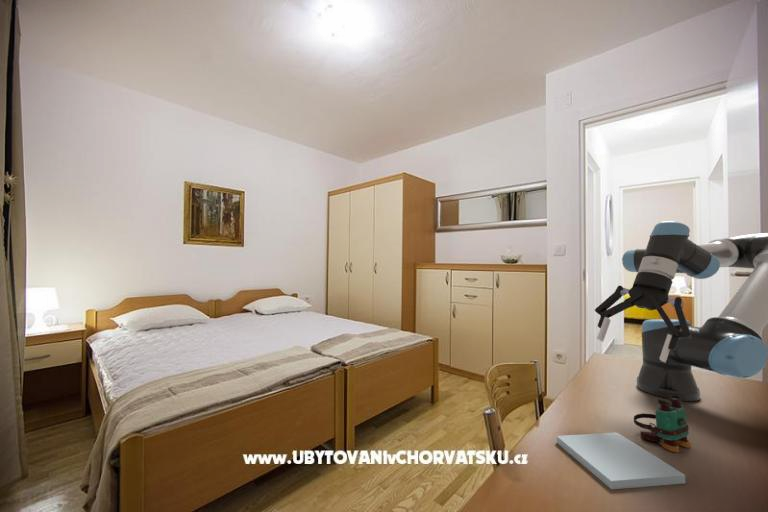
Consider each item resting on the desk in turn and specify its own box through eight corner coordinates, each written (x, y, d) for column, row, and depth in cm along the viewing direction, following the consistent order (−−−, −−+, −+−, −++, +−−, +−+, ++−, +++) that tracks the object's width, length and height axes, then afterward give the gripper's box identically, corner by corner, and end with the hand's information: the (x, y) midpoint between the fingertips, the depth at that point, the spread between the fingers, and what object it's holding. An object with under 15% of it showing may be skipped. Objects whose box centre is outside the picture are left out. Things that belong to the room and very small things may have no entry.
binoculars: (642, 386, 80) (693, 397, 70) (648, 430, 78) (701, 447, 69) (620, 391, 76) (671, 404, 67) (626, 438, 75) (679, 457, 66)
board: (616, 438, 73) (616, 432, 73) (685, 483, 58) (685, 475, 58) (556, 442, 71) (556, 436, 71) (611, 489, 56) (611, 480, 56)
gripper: (598, 262, 92) (573, 329, 90) (719, 281, 72) (691, 368, 70) (606, 272, 97) (583, 336, 94) (722, 292, 76) (696, 374, 74)
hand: (629, 349), depth 82 cm, fingers open, 13 cm apart
